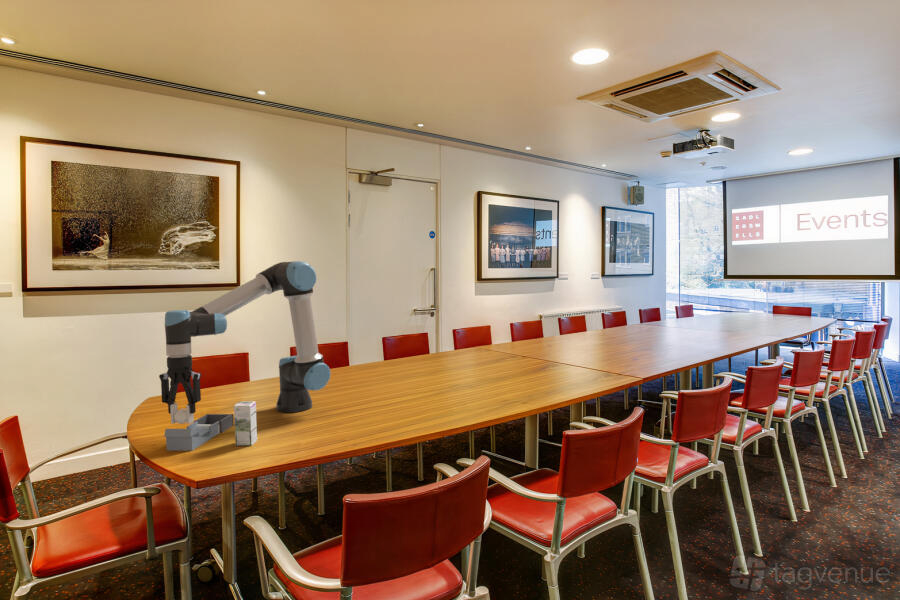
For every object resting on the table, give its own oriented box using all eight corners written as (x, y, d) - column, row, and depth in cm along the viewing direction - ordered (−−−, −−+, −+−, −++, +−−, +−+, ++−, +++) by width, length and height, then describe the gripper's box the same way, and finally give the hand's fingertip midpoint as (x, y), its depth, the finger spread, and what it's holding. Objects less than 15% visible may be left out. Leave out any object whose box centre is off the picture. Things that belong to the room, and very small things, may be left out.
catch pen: (221, 432, 182) (221, 421, 182) (194, 432, 183) (193, 421, 183) (233, 425, 191) (233, 413, 191) (207, 425, 192) (206, 414, 192)
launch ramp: (190, 451, 164) (189, 429, 163) (164, 451, 164) (163, 429, 163) (219, 432, 182) (218, 413, 182) (196, 432, 183) (195, 413, 182)
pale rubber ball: (185, 425, 164) (184, 411, 164) (171, 425, 164) (170, 411, 164) (193, 421, 169) (193, 407, 169) (179, 420, 169) (179, 406, 169)
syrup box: (257, 440, 174) (256, 400, 173) (251, 446, 168) (250, 405, 167) (241, 440, 174) (240, 400, 173) (235, 446, 168) (233, 405, 167)
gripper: (210, 353, 169) (213, 419, 170) (160, 353, 169) (164, 419, 171) (198, 357, 161) (202, 426, 162) (146, 357, 162) (150, 426, 163)
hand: (182, 422), depth 167 cm, fingers closed on pale rubber ball, 5 cm apart
